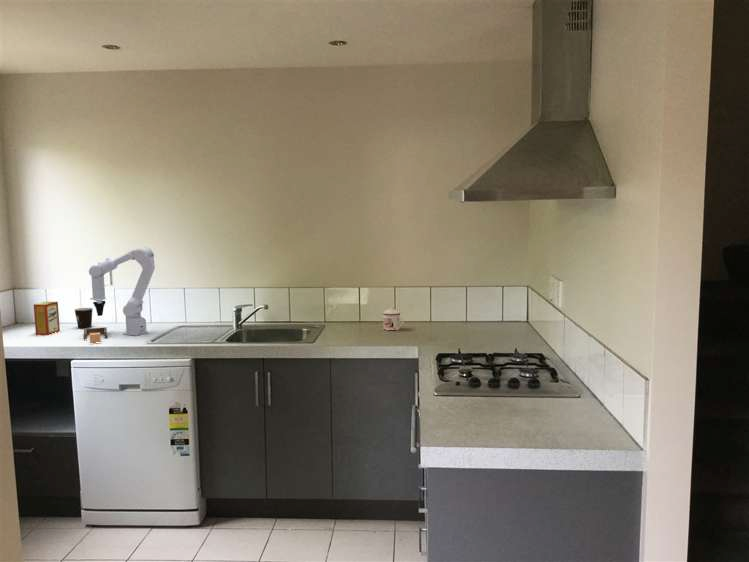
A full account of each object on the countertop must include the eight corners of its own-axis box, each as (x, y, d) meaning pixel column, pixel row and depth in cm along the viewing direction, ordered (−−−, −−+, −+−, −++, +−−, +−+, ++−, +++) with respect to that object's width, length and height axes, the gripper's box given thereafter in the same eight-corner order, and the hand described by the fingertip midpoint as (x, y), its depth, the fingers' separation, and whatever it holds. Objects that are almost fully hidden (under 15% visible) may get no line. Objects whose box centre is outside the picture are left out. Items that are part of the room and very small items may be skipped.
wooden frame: (84, 334, 304) (84, 329, 303) (107, 333, 308) (106, 327, 308) (83, 340, 292) (83, 334, 291) (107, 338, 296) (107, 332, 295)
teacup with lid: (379, 329, 311) (379, 307, 309) (389, 327, 318) (389, 305, 316) (398, 332, 303) (398, 309, 302) (408, 329, 310) (408, 307, 309)
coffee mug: (76, 326, 325) (74, 308, 324) (93, 325, 329) (92, 307, 327) (75, 330, 315) (74, 311, 313) (93, 329, 318) (92, 310, 317)
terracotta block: (90, 342, 287) (89, 333, 287) (100, 341, 289) (100, 332, 289) (90, 344, 283) (89, 335, 283) (100, 343, 285) (100, 334, 285)
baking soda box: (47, 335, 304) (45, 303, 302) (35, 335, 305) (33, 303, 303) (59, 331, 313) (57, 300, 311) (48, 331, 314) (45, 300, 312)
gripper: (89, 287, 309) (91, 313, 310) (89, 291, 296) (91, 318, 297) (104, 286, 312) (106, 312, 313) (105, 290, 299) (107, 317, 300)
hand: (100, 315), depth 306 cm, fingers closed
